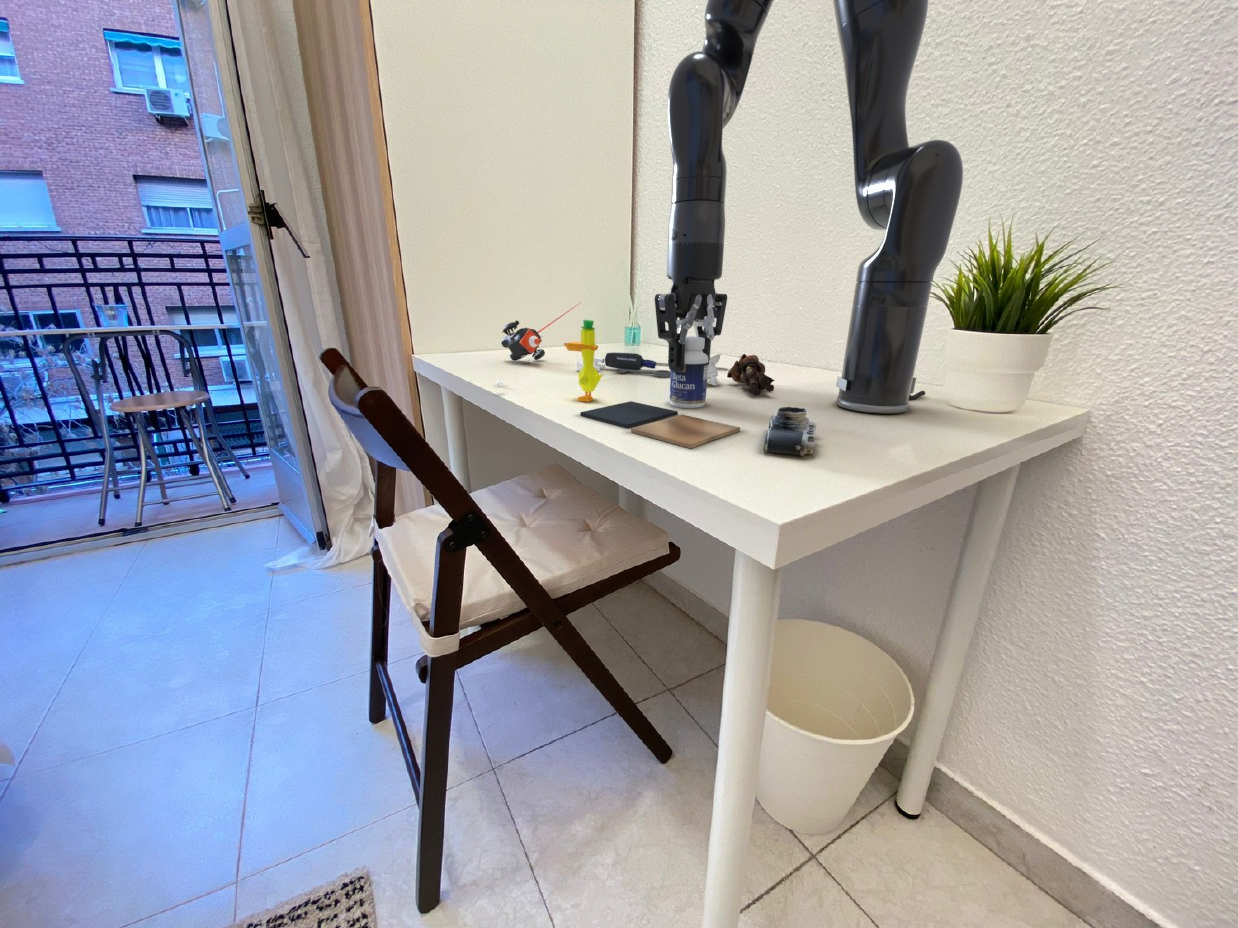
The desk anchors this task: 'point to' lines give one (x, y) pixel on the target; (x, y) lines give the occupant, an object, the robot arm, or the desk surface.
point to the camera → (790, 432)
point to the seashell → (713, 369)
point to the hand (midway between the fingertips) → (689, 367)
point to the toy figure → (586, 360)
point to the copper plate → (685, 430)
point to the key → (647, 372)
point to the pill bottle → (690, 376)
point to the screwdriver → (634, 362)
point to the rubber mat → (629, 414)
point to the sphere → (499, 383)
